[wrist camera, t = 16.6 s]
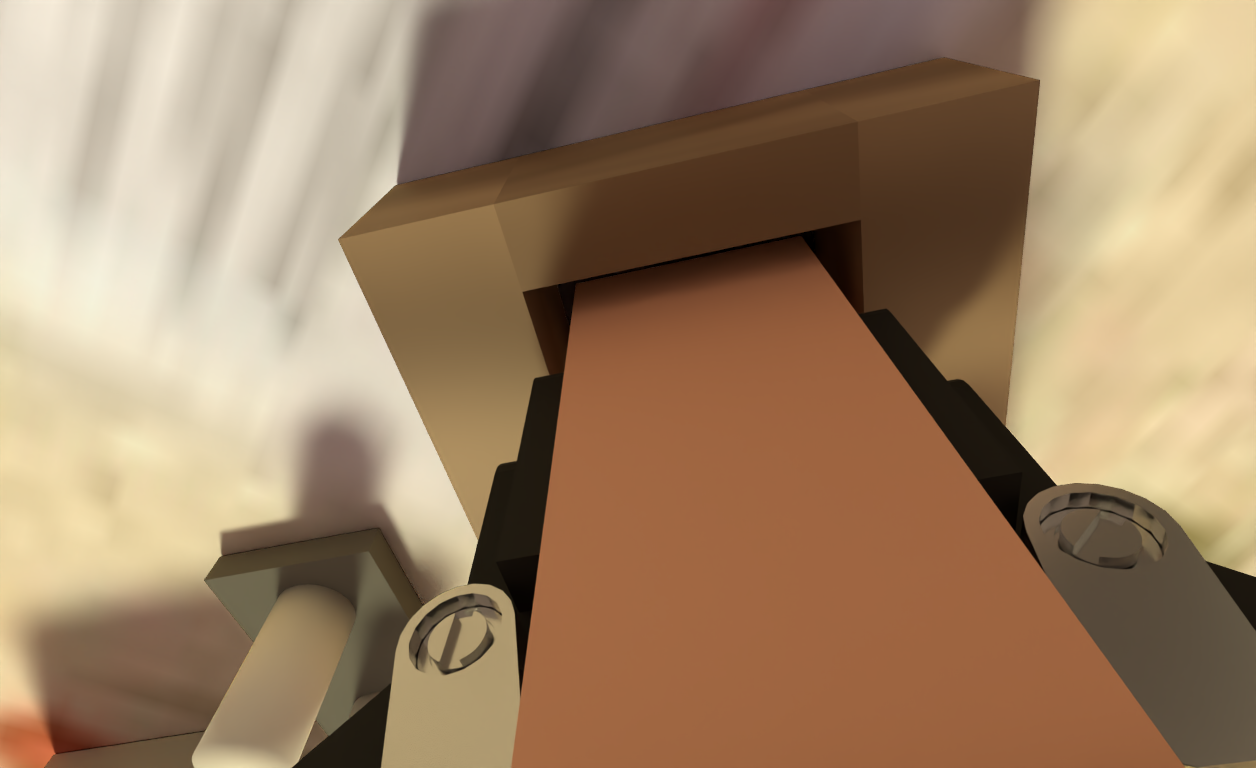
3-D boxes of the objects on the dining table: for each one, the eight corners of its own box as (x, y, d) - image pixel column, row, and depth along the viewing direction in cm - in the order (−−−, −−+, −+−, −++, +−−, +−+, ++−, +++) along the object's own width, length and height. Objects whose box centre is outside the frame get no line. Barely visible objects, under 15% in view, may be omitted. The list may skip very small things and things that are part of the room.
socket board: (395, 184, 12) (337, 239, 10) (944, 57, 11) (1039, 80, 9) (598, 692, 21) (596, 793, 18) (926, 643, 20) (973, 743, 17)
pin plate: (220, 556, 17) (96, 736, 13) (378, 527, 17) (302, 704, 13) (351, 729, 21) (289, 907, 17) (481, 709, 21) (449, 887, 17)
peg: (624, 457, 14) (634, 1056, 6) (576, 283, 12) (500, 854, 4) (817, 422, 13) (1085, 1014, 6) (801, 236, 11) (1184, 769, 4)
